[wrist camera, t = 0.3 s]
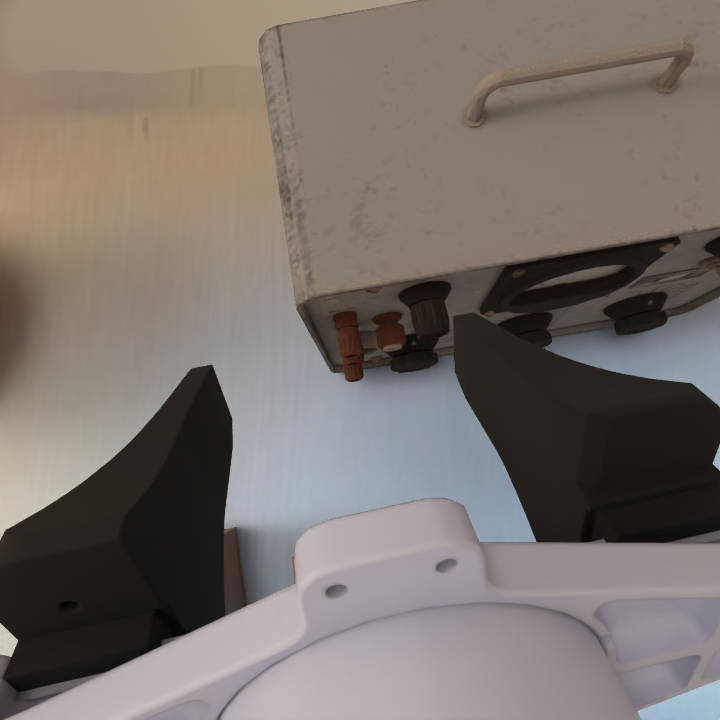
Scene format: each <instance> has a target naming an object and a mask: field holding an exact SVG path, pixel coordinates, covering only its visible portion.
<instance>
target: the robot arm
mask: <svg viewBox="0 0 720 720" xmlns="http://www.w3.org/2000/svg"><path fill="white" fill-rule="evenodd" d="M453 332H454V361H455V373H456V376H457V378H458V381H459V383H460V386H461V388H462V391H463V393H464V395H465V398H466V399H467V401H468V403H469V405H470V406H471V408H472V410H473V412H474V413H475V415H476V417H477V418H478V420H479V422H480V423H481V425H482V427H483V428H484V430H485V432H486V433H487V435H488V437H489V438H490V440H491V442H492V444H493V445H494V447H495V449H496V450H497V452H498V454H499V456H500V458H501V460H502V461H503V463H504V465H505V468H506V470H507V472H508V474H509V477H510V479H511V481H512V483H513V486H514V488H515V490H516V492H517V495H518V497H519V500H520V502H521V504H522V507H523V509H524V511H525V514H526V516H527V519H528V521H529V524H530V526H531V529H532V531H533V534H534V536H535V539H536V541H537V542H479V540H478V538H477V536H476V533H475V531H474V528H473V526H472V524H471V521H470V519H469V517H468V514H467V512H466V510H465V508H464V506H463V505H461V504H459V503H457V502H455V501H452V500H450V499H448V498H428V499H421V500H416V501H411V502H407V503H402V504H398V505H393V506H389V507H384V508H380V509H375V510H371V511H366V512H361V513H357V514H352V515H348V516H343V517H339V518H334V519H330V520H327V521H325V522H322V523H320V524H318V525H315V526H313V527H311V528H309V529H308V530H307V531H306V532H305V533H304V534H303V535H302V536H301V537H300V538H299V539H298V540H297V542H296V543H295V554H294V562H295V580H296V583H294V584H292V585H290V586H288V587H286V588H284V589H282V590H280V591H277V592H275V593H273V594H271V595H269V596H267V597H265V598H263V599H260V600H258V601H256V602H254V603H252V604H250V605H248V606H246V607H243V608H241V609H239V610H237V611H235V612H233V613H231V614H229V615H227V616H225V592H224V518H225V507H226V499H227V491H228V483H229V475H230V466H231V458H232V449H233V433H232V416H231V414H230V411H229V408H228V406H227V403H226V400H225V398H224V395H223V392H222V390H221V387H220V384H219V382H218V379H217V376H216V373H215V371H214V368H213V365H207V366H202V367H197V368H192V369H191V370H190V371H189V372H188V373H187V375H186V376H185V377H184V378H183V380H182V381H181V382H180V384H179V385H178V386H177V388H176V389H175V390H174V392H173V393H172V394H171V395H170V397H169V398H168V399H167V401H166V402H165V403H164V404H163V406H162V407H161V408H160V409H159V411H158V412H157V413H156V414H155V415H154V416H153V417H152V419H151V420H150V421H149V422H148V423H147V424H146V425H145V427H144V428H143V429H142V430H141V431H140V432H139V433H138V434H137V435H136V436H135V437H134V439H133V440H132V441H131V442H129V443H128V444H127V445H126V446H125V447H124V448H123V449H122V450H121V451H120V452H119V453H118V454H117V455H116V456H115V457H113V458H112V459H111V460H110V461H109V462H108V463H106V464H105V465H104V466H103V467H101V468H100V469H99V470H98V471H96V472H95V473H94V474H93V475H91V476H90V477H89V478H88V479H86V480H85V481H84V482H82V483H81V484H80V485H78V486H77V487H75V488H74V489H73V490H71V491H70V492H68V493H67V494H65V495H64V496H62V497H61V498H59V499H58V500H56V501H55V502H53V503H52V504H50V505H48V506H47V507H45V508H44V509H42V510H40V511H38V512H37V513H35V514H33V515H32V516H30V517H28V518H26V519H25V520H23V521H21V522H19V523H18V524H16V525H14V526H12V527H11V528H9V529H7V530H6V531H5V532H4V534H3V536H2V538H1V540H0V623H1V624H2V625H3V626H4V627H5V628H6V629H7V630H8V631H9V632H10V633H11V634H12V635H13V636H14V637H16V638H17V639H18V643H17V645H16V647H15V650H14V652H13V655H12V657H9V656H5V655H0V720H641V718H640V716H639V714H638V713H637V711H638V710H641V709H643V708H646V707H649V706H651V705H654V704H656V703H659V702H662V701H664V700H667V699H669V698H672V697H675V696H677V695H680V694H682V693H685V692H688V691H690V690H693V689H695V688H698V687H701V686H703V685H706V684H708V683H711V682H714V681H716V680H719V679H720V471H719V470H718V469H717V468H716V467H715V466H714V465H713V464H712V463H713V461H714V458H715V455H716V453H717V450H718V447H719V444H720V407H719V406H718V405H717V404H716V403H715V402H713V401H712V400H711V399H710V398H709V397H707V396H706V395H705V394H704V393H703V392H701V391H700V390H699V389H698V388H697V387H695V386H694V385H693V384H691V383H684V382H674V381H665V380H656V379H649V378H643V377H637V376H632V375H626V374H621V373H617V372H612V371H608V370H604V369H601V368H597V367H593V366H589V365H586V364H583V363H579V362H576V361H574V360H571V359H568V358H565V357H562V356H559V355H557V354H554V353H552V352H549V351H547V350H545V349H543V348H540V347H538V346H536V345H534V344H532V343H530V342H528V341H525V340H523V339H521V338H520V337H518V336H516V335H514V334H512V333H510V332H508V331H506V330H505V329H503V328H501V327H499V326H497V325H496V324H494V323H492V322H490V321H489V320H487V319H485V318H483V317H481V316H479V315H478V314H476V313H474V312H471V313H466V314H461V315H456V316H453Z"/></svg>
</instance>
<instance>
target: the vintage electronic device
mask: <svg viewBox="0 0 720 720" xmlns="http://www.w3.org/2000/svg"><path fill="white" fill-rule="evenodd" d="M259 53H260V60H261V67H262V74H263V81H264V88H265V94H266V101H267V108H268V115H269V122H270V129H271V136H272V143H273V149H274V156H275V163H276V170H277V177H278V184H279V191H280V198H281V205H282V211H283V218H284V225H285V232H286V239H287V246H288V253H289V260H290V266H291V273H292V280H293V287H294V294H295V301H296V308H297V311H298V313H299V314H300V316H301V318H302V320H303V322H304V323H305V325H306V327H307V329H308V331H309V333H310V334H311V336H312V338H313V340H314V342H315V343H316V345H317V347H318V349H319V351H320V352H321V354H322V356H323V358H324V360H325V362H326V363H327V365H328V367H329V369H330V371H331V372H333V373H342V372H344V374H345V379H346V380H347V381H348V382H355V381H359V380H361V379H362V378H363V377H364V376H363V369H367V368H373V367H379V366H385V365H391V370H392V371H394V372H399V373H403V372H413V371H418V370H422V369H426V368H429V367H431V366H433V365H435V364H436V363H437V362H438V356H443V355H449V354H454V332H453V316H456V315H461V314H466V313H471V312H474V313H476V314H478V315H479V316H481V317H483V318H485V319H487V320H489V321H490V322H492V323H494V324H496V325H497V326H499V327H501V328H503V329H505V330H506V331H508V332H510V333H512V334H514V335H516V336H518V337H520V338H521V339H523V340H525V341H528V342H530V343H532V344H534V345H536V346H538V347H540V348H542V347H545V346H548V345H549V344H550V343H551V342H552V338H551V337H555V336H560V335H566V334H572V333H578V332H584V331H590V330H595V329H601V328H607V327H613V326H614V327H615V331H616V333H617V334H618V335H630V334H635V333H639V332H644V331H648V330H651V329H654V328H657V327H660V326H662V325H664V324H665V323H666V321H667V317H671V316H676V315H679V314H683V313H686V312H689V311H691V310H694V309H696V308H698V307H700V306H702V305H704V304H706V303H708V302H710V301H712V300H714V299H716V298H718V297H720V0H417V1H412V2H406V3H401V4H395V5H389V6H384V7H379V8H372V9H367V10H361V11H356V12H350V13H344V14H338V15H333V16H328V17H322V18H316V19H310V20H305V21H299V22H293V23H288V24H282V25H277V26H275V27H272V28H270V29H268V30H266V31H265V33H264V34H263V35H262V37H261V38H260V39H259Z"/></svg>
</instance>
